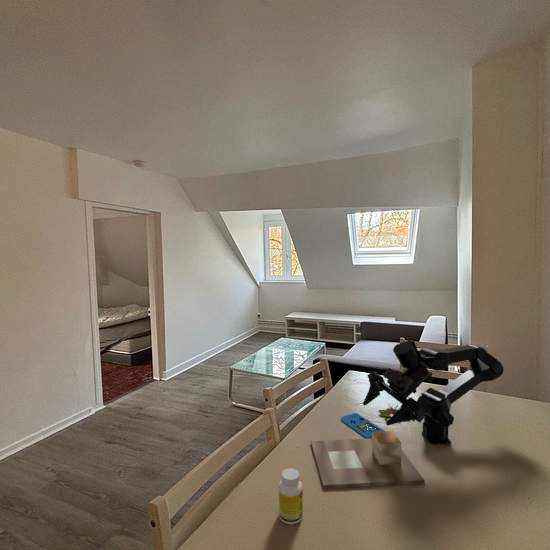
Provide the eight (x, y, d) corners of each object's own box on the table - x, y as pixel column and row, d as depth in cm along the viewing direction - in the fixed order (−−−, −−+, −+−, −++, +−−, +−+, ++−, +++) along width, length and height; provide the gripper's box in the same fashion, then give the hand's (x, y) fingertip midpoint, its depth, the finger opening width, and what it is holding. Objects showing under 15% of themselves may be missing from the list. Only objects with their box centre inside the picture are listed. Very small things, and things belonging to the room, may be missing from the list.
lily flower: (417, 425, 114) (417, 412, 113) (382, 425, 114) (382, 412, 114) (404, 409, 126) (404, 397, 125) (372, 409, 126) (372, 398, 126)
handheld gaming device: (356, 411, 122) (386, 430, 108) (356, 414, 122) (386, 433, 108) (338, 416, 118) (366, 436, 105) (338, 419, 118) (366, 440, 105)
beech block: (392, 450, 96) (392, 430, 96) (401, 463, 90) (401, 442, 90) (372, 451, 96) (372, 431, 96) (379, 464, 90) (379, 443, 90)
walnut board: (392, 440, 104) (392, 437, 103) (424, 483, 84) (424, 479, 84) (311, 444, 102) (311, 441, 102) (323, 488, 82) (323, 485, 82)
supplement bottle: (304, 524, 71) (304, 481, 71) (280, 526, 71) (279, 482, 71) (300, 505, 77) (300, 465, 76) (277, 507, 76) (277, 467, 76)
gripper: (381, 347, 104) (345, 379, 100) (433, 379, 88) (393, 419, 84) (389, 369, 109) (355, 401, 105) (439, 403, 93) (402, 442, 89)
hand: (374, 414), depth 96 cm, fingers open, 9 cm apart
